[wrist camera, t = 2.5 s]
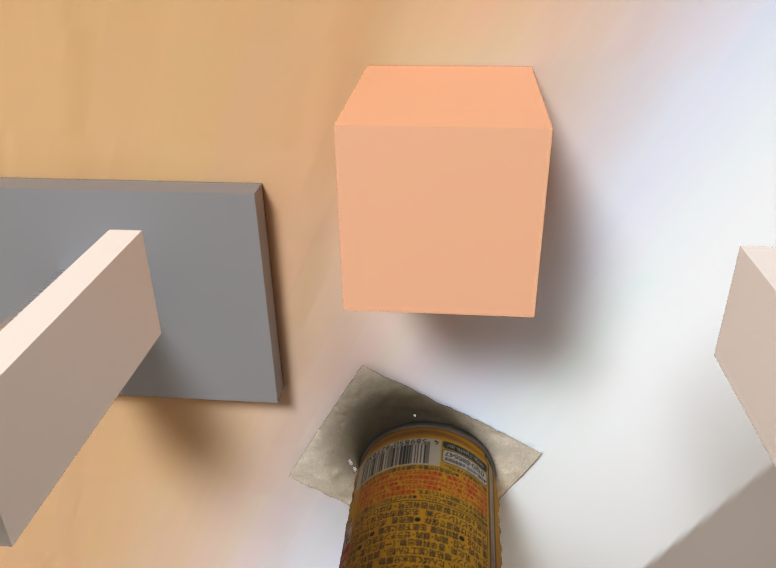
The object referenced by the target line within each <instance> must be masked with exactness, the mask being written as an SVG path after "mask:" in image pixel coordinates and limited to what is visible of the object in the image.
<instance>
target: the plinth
mask: <svg viewBox="0 0 776 568" xmlns="http://www.w3.org/2000/svg"><path fill="white" fill-rule="evenodd" d="M108 230H142V234H143V240H144V245H145V250H146V255H147V261H148V266H149V271H150V276H151V282H152V287H153V292H154V297H155V303H156V308H157V313H158V318H159V324H160V329H161V335H160V336H159V337H158V339H157V340H156V342H155V343H154V345H153V346H152V347H151V349H150V350H149V352H148V353H147V355H146V356H145V357H144V359H143V360H142V362H141V363H140V365H139V366H138V367H137V369H136V370H135V372H134V373H133V375H132V376H131V377H130V379H129V380H128V382H127V383H126V385H125V386H124V387H123V389H122V390H121V392H120V393H119V395H130V396H149V397H169V398H188V399H208V400H228V401H247V402H267V403H278V401H279V398H280V396H281V393H282V390H283V380H282V371H281V361H280V352H279V343H278V333H277V324H276V314H275V305H274V296H273V286H272V277H271V267H270V258H269V249H268V239H267V230H266V220H265V211H264V202H263V192H262V183H224V182H179V181H133V180H88V179H42V178H0V324H1V323H2V322H3V321H4V320H5V319H7V318H8V317H9V316H10V315H11V314H12V313H13V312H14V311H15V310H16V309H17V308H18V307H19V306H20V305H21V304H23V303H24V302H25V301H26V300H27V299H28V298H29V297H30V296H31V295H32V294H33V293H34V292H35V291H36V290H37V289H39V288H40V287H41V286H42V285H43V284H44V283H45V282H46V281H47V280H48V279H49V278H50V277H51V276H52V275H54V274H55V273H56V272H57V271H58V270H59V269H66V270H67V269H68V268H69V267H70V266H71V265H72V264H73V263H74V262H75V261H76V260H77V259H78V258H79V257H80V256H82V255H83V254H84V253H85V252H86V251H87V250H88V249H89V248H90V247H91V246H92V245H93V244H94V243H96V242H97V241H98V240H99V239H100V238H101V237H102V236H103V235H104V234H105V233H106V232H107V231H108Z"/></svg>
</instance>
